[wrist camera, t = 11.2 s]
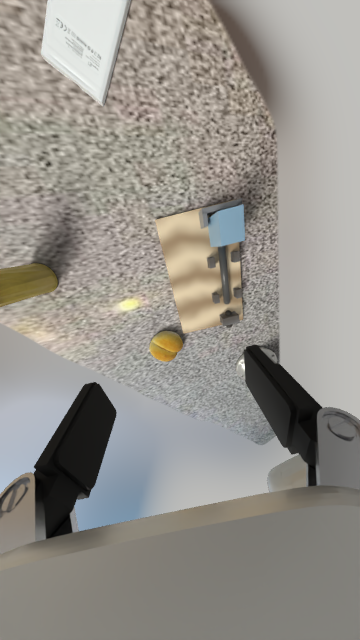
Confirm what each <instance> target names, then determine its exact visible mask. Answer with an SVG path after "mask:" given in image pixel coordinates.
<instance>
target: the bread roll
mask: <svg viewBox="0 0 360 640" xmlns="http://www.w3.org/2000/svg"><path fill="white" fill-rule="evenodd" d="M182 347H183V342H182V339H181V338H180V336H179V335H178V334H177V333H175V332H172V331H163V332H160V333H158V334H156V335H155V336H154V337H153V339H152V341H151V342H150V347H149V348H150V352H151V354H152V355H153V356H154V357H155V358H156V359H158V360H161V361H170V360H173V359H174V358H175V357H176V355H177V352H178V351H180V350H181V349H182Z"/></svg>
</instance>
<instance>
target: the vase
mask: <svg viewBox="0 0 360 640" xmlns="http://www.w3.org/2000/svg"><path fill="white" fill-rule="evenodd" d="M57 284H58V281H57V277H56V275H55V274H54V272H53V271H52V270H51V269H50V268H48V267H47V266H45V265H43V264H38V263H33V264H29V265H23V266H17V267H11V268H4V269H0V307H2V306H5V305H8V304H12V303H15V302H18V301H21V300H24V299H27V298H31V297H34V296H38V295H41V294H44V293H49V292H52V291H54V290H55V289H56V287H57Z"/></svg>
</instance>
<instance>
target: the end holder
mask: <svg viewBox="0 0 360 640" xmlns="http://www.w3.org/2000/svg"><path fill="white" fill-rule="evenodd" d="M239 205H242V198H241V199H237V200H233V201H229V202H226V203H222V204H218V205H214V206H210V207H206V208H202V209H201V210H200V211H199V212H198V213H199V220H200V226H201V229H203V228H206V227H207V226H208V218H207V215H210V214H214V213H216V212H218V211H220V210H224V209H228V208H232V207H236V206H239Z"/></svg>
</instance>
